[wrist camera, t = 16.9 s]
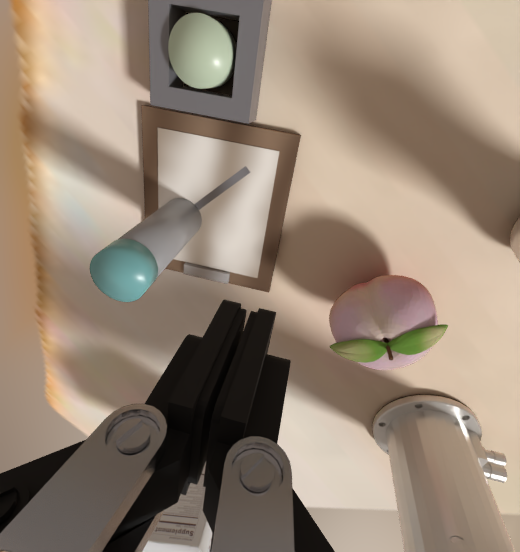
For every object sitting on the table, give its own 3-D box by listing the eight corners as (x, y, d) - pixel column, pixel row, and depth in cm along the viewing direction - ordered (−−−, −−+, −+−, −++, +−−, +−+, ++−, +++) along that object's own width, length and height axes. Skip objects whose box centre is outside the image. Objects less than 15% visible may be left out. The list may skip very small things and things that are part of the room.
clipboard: (300, 135, 28) (299, 136, 27) (269, 289, 36) (268, 294, 36) (144, 105, 29) (138, 105, 28) (149, 261, 38) (144, 266, 37)
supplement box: (194, 446, 54) (147, 576, 40) (177, 408, 50) (117, 538, 36) (250, 449, 52) (221, 588, 38) (238, 409, 48) (199, 549, 34)
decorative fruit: (350, 335, 38) (356, 408, 29) (318, 278, 35) (314, 342, 26) (437, 308, 34) (473, 383, 25) (409, 242, 31) (439, 302, 23)
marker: (203, 202, 32) (144, 258, 22) (201, 240, 34) (146, 307, 24) (163, 193, 32) (86, 244, 22) (163, 231, 34) (93, 294, 24)
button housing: (271, 0, 24) (264, -10, 21) (255, 119, 28) (248, 123, 26) (166, -18, 25) (147, -29, 22) (166, 102, 29) (150, 104, 26)
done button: (240, 24, 24) (232, 18, 22) (233, 92, 26) (225, 93, 24) (182, 14, 24) (168, 7, 22) (180, 82, 27) (168, 82, 24)
